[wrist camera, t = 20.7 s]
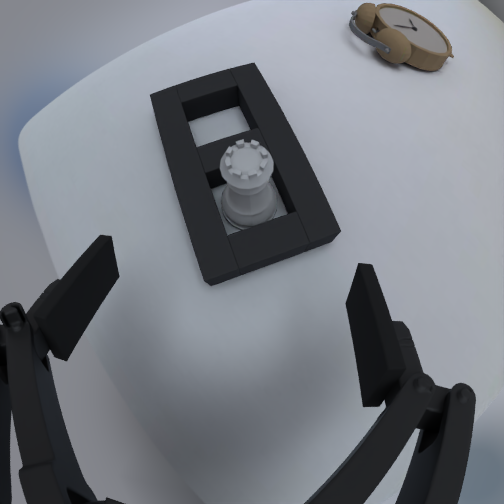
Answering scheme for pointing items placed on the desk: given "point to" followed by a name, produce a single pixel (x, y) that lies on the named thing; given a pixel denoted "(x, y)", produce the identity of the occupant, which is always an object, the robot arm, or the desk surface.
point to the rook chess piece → (247, 185)
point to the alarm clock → (401, 35)
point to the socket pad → (209, 176)
